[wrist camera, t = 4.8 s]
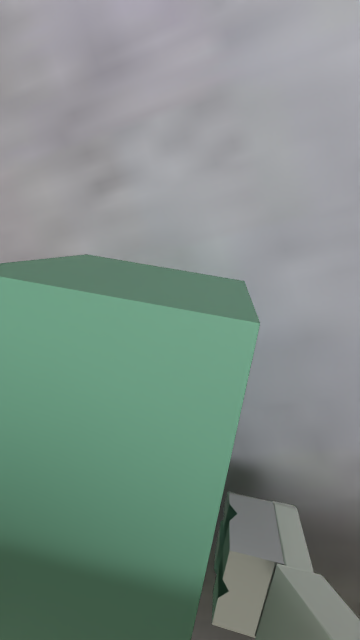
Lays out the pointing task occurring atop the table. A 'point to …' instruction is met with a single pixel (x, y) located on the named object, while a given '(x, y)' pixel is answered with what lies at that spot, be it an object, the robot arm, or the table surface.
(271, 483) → the table surface
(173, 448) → the green rectangular block
